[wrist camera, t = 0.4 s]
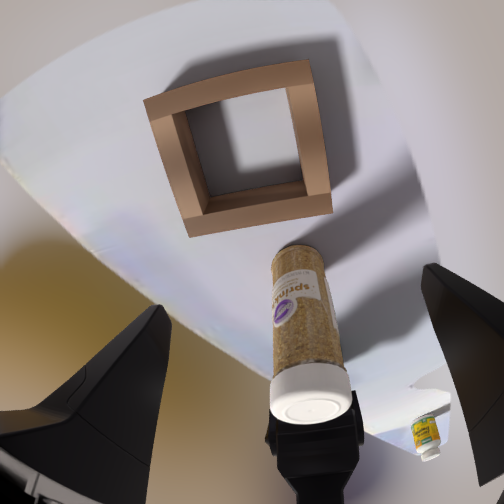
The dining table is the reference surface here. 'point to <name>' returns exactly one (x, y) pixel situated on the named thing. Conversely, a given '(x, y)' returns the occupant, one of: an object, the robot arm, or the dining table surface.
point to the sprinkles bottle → (305, 342)
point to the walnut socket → (253, 200)
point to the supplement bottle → (426, 437)
